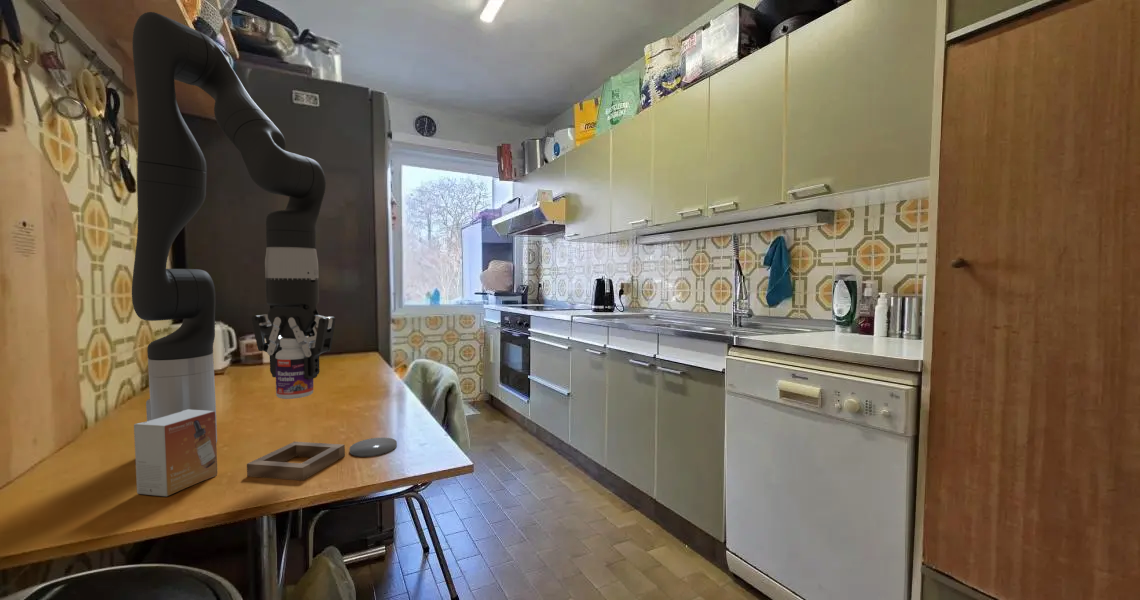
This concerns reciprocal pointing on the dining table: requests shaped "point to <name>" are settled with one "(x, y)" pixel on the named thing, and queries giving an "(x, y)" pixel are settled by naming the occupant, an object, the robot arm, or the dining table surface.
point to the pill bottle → (291, 371)
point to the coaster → (373, 447)
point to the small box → (175, 452)
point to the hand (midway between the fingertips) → (295, 377)
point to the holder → (280, 469)
